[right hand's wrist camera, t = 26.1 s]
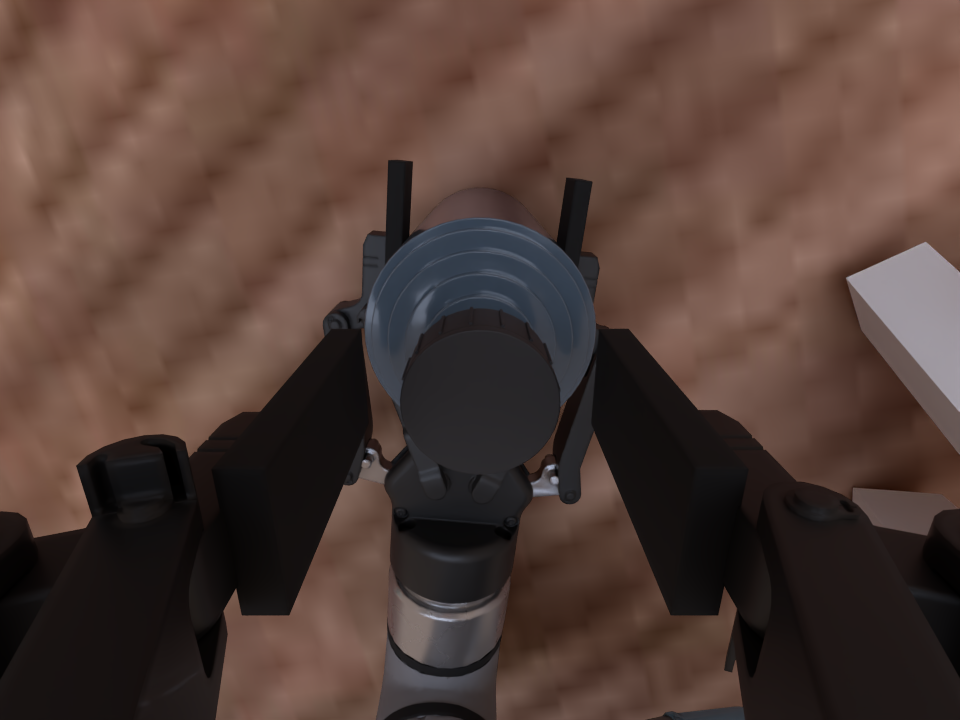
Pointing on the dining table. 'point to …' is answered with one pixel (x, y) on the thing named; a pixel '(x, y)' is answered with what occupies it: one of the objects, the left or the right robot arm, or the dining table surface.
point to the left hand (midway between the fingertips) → (490, 170)
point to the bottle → (480, 285)
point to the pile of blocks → (913, 361)
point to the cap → (480, 392)
